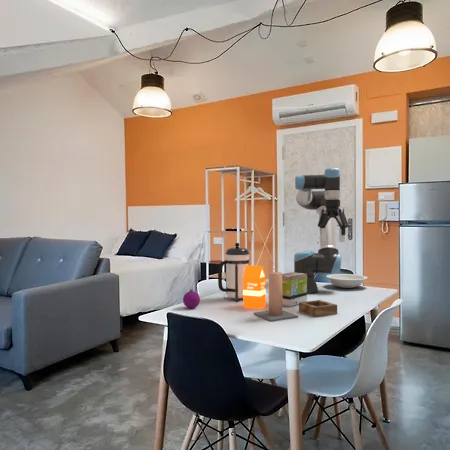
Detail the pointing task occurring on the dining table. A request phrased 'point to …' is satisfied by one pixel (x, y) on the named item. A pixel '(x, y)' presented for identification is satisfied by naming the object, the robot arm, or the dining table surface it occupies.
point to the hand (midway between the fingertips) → (332, 241)
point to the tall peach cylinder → (275, 293)
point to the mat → (275, 318)
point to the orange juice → (254, 287)
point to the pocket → (318, 308)
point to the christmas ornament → (191, 299)
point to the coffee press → (234, 271)
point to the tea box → (294, 288)
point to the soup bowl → (346, 280)
